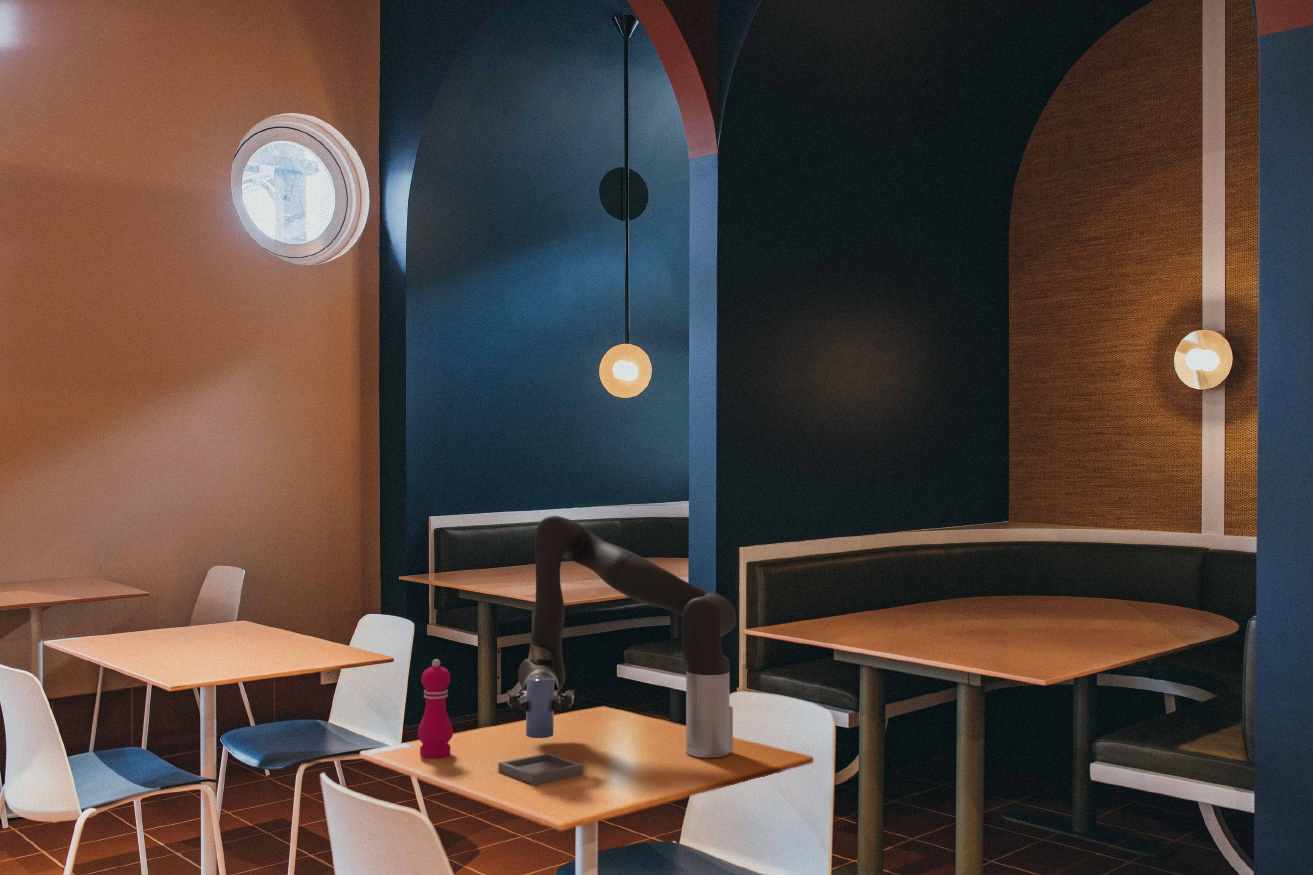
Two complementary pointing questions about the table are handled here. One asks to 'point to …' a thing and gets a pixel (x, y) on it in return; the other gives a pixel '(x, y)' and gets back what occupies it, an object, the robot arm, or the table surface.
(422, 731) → the pepper mill
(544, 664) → the robot arm
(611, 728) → the table surface
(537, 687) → the blue-grey cylinder
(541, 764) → the tray
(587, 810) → the table surface
